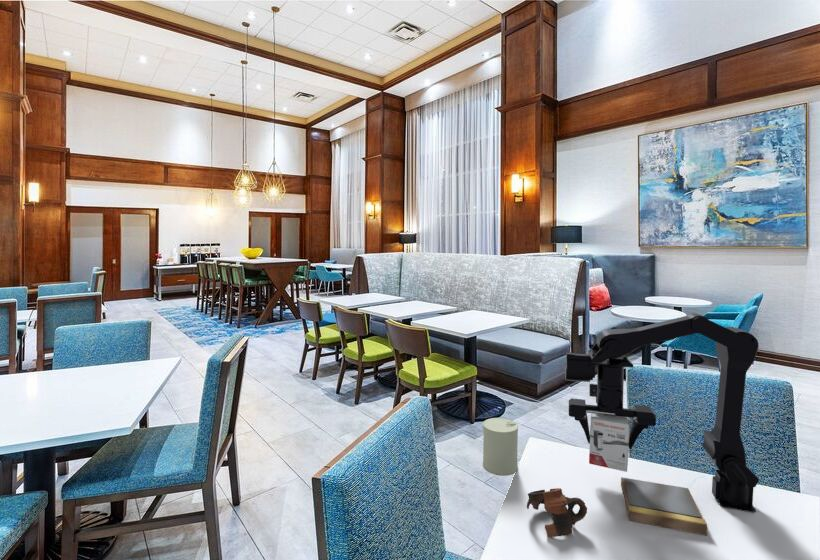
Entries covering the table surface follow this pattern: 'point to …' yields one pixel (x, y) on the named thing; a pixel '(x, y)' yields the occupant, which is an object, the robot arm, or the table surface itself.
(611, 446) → the ink box
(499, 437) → the can
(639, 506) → the framed panel
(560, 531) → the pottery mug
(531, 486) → the table surface
